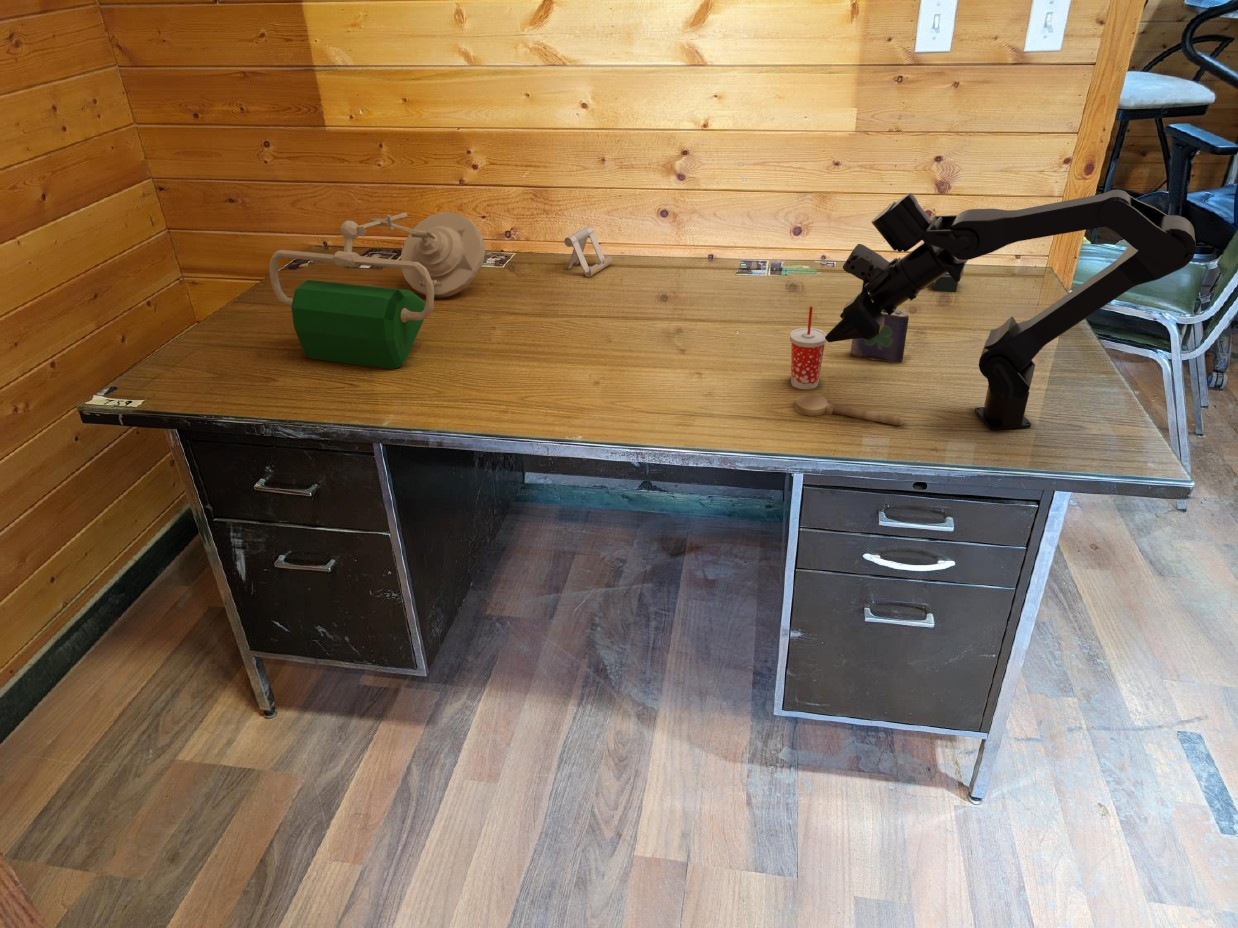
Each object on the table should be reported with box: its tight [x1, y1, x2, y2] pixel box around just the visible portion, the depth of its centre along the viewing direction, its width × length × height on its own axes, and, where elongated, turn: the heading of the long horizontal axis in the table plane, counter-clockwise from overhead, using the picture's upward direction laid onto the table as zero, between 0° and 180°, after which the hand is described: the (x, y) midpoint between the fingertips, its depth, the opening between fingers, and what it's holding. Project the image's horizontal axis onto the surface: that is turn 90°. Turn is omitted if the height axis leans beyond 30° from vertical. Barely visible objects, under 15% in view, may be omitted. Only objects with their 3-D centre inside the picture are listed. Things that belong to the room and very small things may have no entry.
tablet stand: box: [563, 225, 613, 278], centre depth 201 cm, size 9×8×8 cm
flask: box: [850, 308, 910, 364], centre depth 158 cm, size 9×3×11 cm, turn 65°
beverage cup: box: [789, 306, 828, 390], centre depth 150 cm, size 6×6×14 cm
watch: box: [932, 260, 969, 293], centre depth 185 cm, size 6×8×11 cm
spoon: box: [794, 393, 904, 426], centre depth 144 cm, size 17×5×1 cm, turn 64°
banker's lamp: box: [269, 211, 486, 370], centre depth 178 cm, size 35×42×39 cm
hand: (834, 328), depth 146 cm, fingers open, 9 cm apart
